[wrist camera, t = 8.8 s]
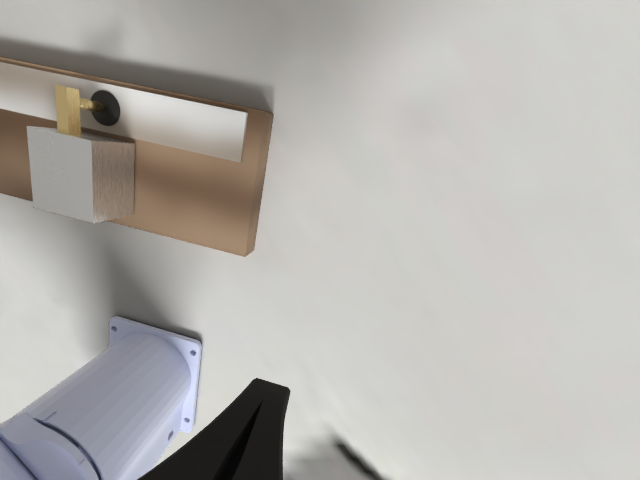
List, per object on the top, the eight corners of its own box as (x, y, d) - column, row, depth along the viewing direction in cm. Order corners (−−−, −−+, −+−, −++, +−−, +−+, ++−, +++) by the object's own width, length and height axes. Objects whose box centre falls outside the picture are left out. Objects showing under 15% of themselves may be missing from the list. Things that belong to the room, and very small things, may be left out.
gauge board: (253, 250, 21) (222, 273, 17) (-54, 171, 24) (-148, 173, 19) (273, 114, 18) (242, 100, 14) (-75, 43, 21) (-190, 13, 17)
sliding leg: (133, 214, 20) (93, 223, 17) (81, 200, 20) (33, 207, 17) (135, 102, 18) (90, 91, 15) (77, 90, 18) (22, 77, 15)
